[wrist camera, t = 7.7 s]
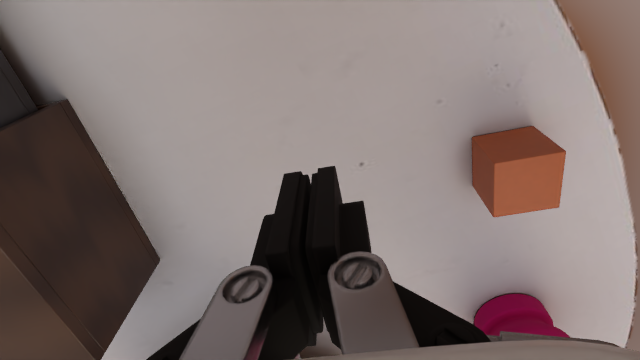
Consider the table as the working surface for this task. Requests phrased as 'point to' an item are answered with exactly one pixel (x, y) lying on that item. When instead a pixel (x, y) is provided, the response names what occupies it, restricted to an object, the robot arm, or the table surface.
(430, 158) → the table surface
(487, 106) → the table surface
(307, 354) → the table surface
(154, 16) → the table surface
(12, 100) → the drawer
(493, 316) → the pepper mill
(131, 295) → the cabinet
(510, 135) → the block
